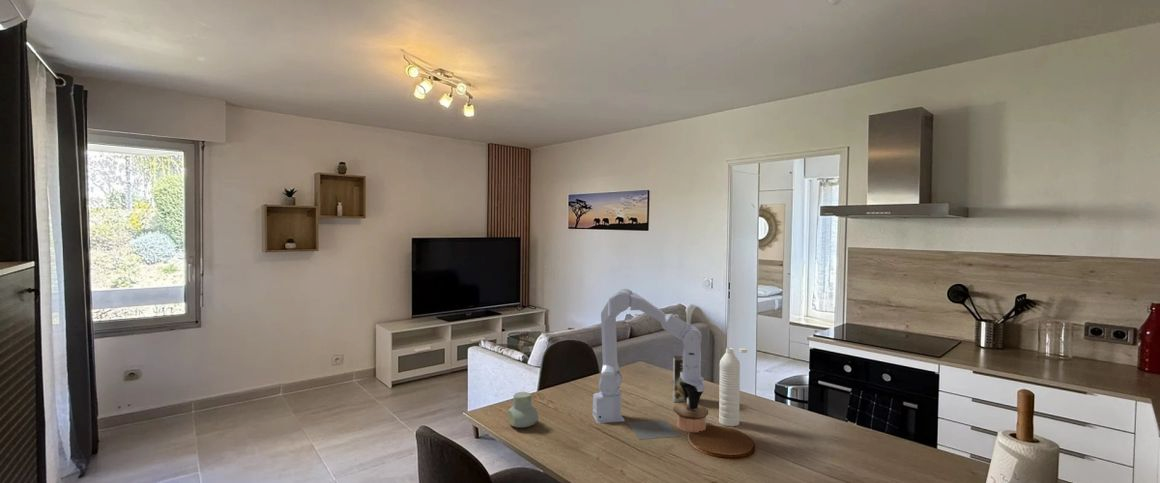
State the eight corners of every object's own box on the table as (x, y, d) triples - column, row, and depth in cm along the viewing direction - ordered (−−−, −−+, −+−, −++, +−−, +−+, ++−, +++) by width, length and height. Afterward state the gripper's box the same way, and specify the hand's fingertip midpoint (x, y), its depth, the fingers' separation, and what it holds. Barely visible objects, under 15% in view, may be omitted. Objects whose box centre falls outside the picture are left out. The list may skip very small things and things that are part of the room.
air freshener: (505, 421, 162) (505, 391, 162) (528, 416, 166) (528, 387, 165) (516, 433, 152) (516, 401, 152) (540, 428, 156) (540, 397, 156)
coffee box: (673, 403, 179) (674, 359, 178) (672, 397, 185) (672, 355, 185) (699, 403, 178) (699, 360, 177) (696, 397, 184) (696, 356, 184)
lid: (681, 418, 150) (682, 405, 150) (668, 405, 161) (668, 393, 161) (714, 417, 152) (714, 403, 152) (699, 404, 163) (699, 392, 163)
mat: (639, 441, 147) (639, 439, 146) (627, 424, 159) (627, 422, 159) (680, 437, 149) (680, 436, 149) (665, 421, 162) (665, 419, 162)
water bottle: (719, 425, 158) (719, 349, 157) (718, 418, 164) (719, 345, 164) (747, 428, 156) (748, 351, 155) (745, 420, 162) (746, 346, 162)
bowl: (683, 434, 151) (683, 420, 151) (673, 423, 160) (673, 409, 160) (710, 432, 153) (710, 418, 153) (698, 421, 162) (698, 407, 162)
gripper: (713, 370, 150) (713, 414, 150) (694, 358, 164) (693, 398, 164) (692, 371, 148) (691, 415, 149) (674, 359, 163) (674, 399, 163)
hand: (691, 406), depth 156 cm, fingers closed on lid, 3 cm apart
